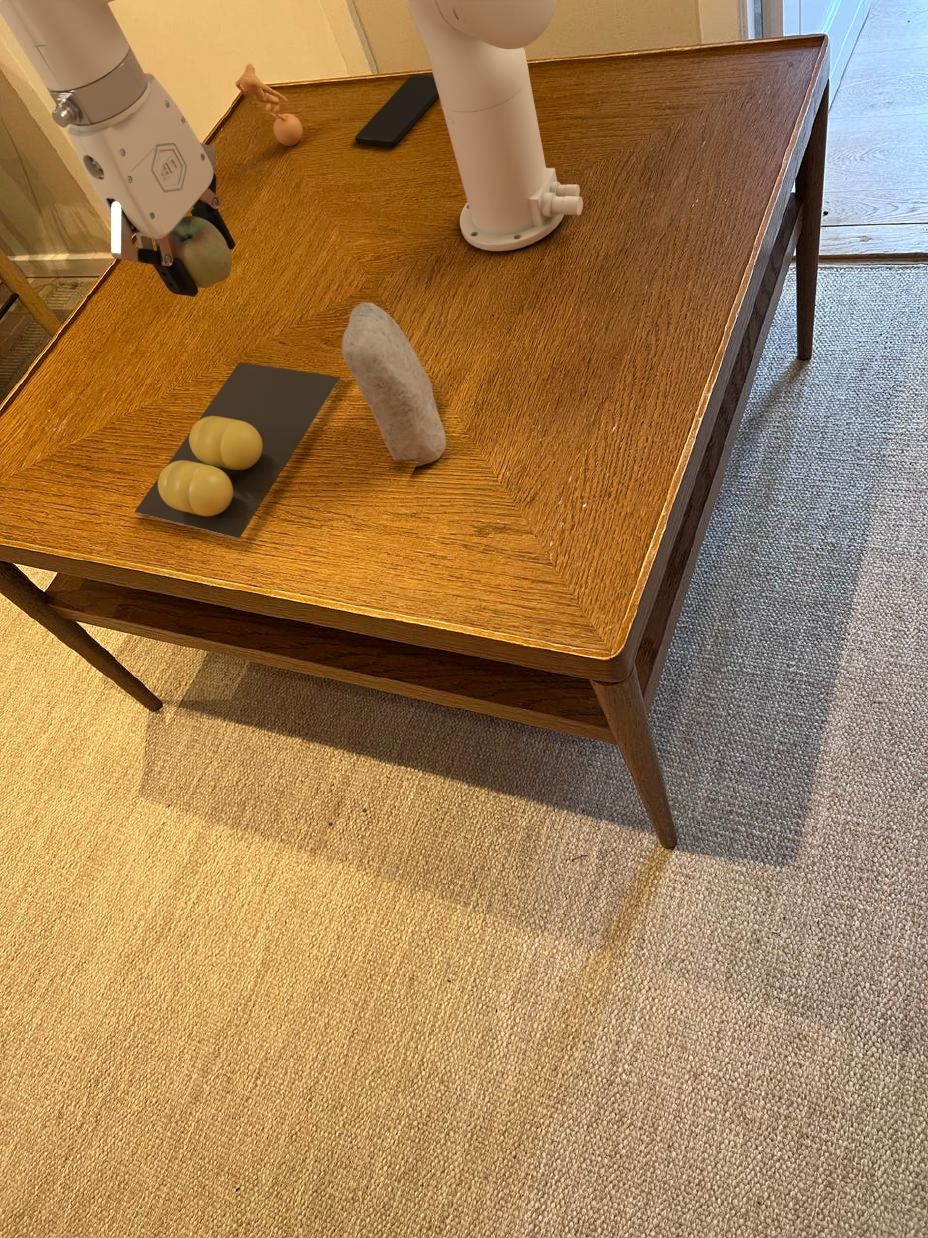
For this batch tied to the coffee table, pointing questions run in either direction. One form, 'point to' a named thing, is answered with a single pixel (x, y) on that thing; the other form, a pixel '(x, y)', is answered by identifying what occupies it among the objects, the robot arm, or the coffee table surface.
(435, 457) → the decorative stone
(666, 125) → the coffee table surface
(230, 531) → the serving board
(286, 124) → the figurine
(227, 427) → the yellow lobed bun
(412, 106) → the smartphone
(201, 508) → the bread roll
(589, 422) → the coffee table surface
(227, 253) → the apple
